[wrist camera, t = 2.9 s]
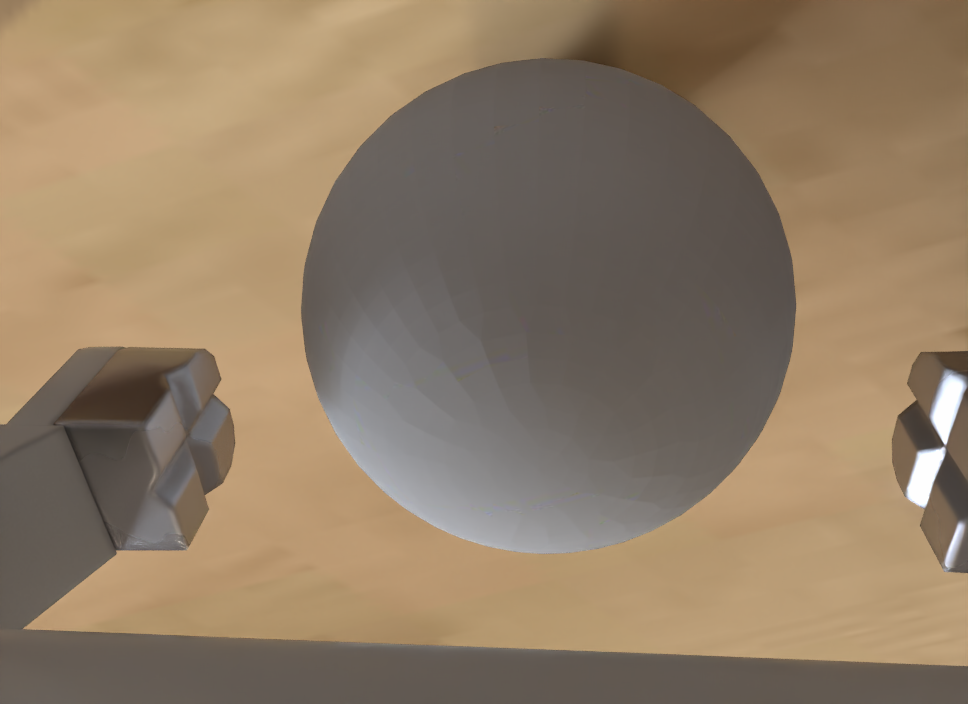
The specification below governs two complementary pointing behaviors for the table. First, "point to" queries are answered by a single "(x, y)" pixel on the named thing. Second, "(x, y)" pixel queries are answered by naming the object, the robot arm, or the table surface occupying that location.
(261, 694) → the robot arm
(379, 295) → the light bulb
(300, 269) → the table surface
